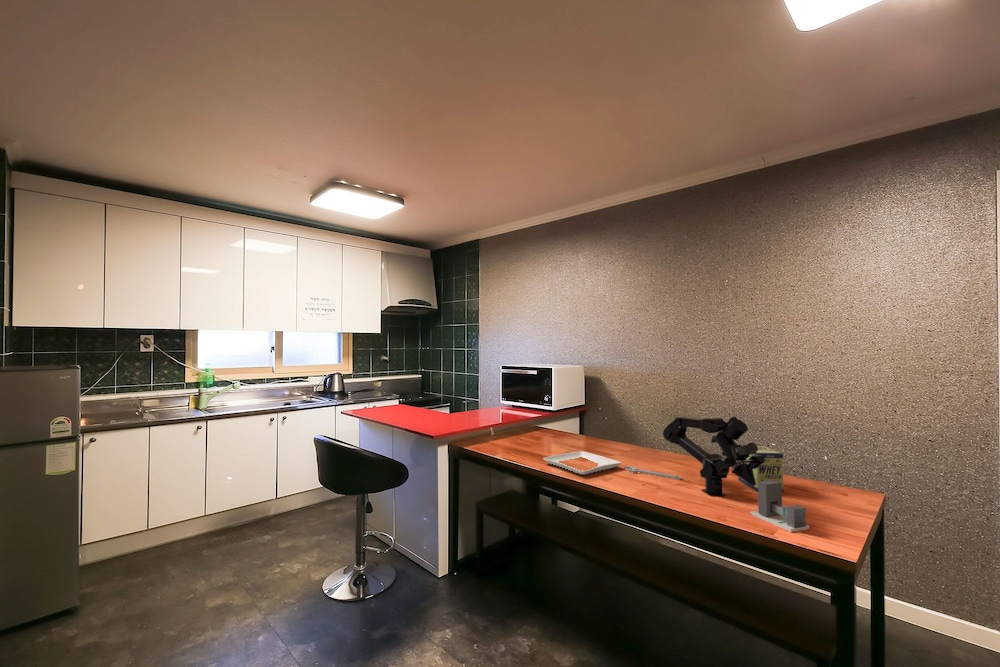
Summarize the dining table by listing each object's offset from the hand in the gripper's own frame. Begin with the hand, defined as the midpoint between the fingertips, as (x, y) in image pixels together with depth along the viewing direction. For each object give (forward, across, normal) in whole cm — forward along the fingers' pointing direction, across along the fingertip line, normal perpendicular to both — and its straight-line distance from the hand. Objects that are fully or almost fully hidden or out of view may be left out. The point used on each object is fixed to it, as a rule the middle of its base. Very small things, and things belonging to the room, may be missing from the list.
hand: (754, 485), depth 149 cm
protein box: (-8, +26, +21) cm, 34 cm away
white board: (+13, 0, 0) cm, 13 cm away
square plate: (-40, -33, +54) cm, 75 cm away
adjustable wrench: (-26, -9, +40) cm, 48 cm away
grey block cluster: (+12, 0, -1) cm, 12 cm away
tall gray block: (+10, 0, +1) cm, 10 cm away
